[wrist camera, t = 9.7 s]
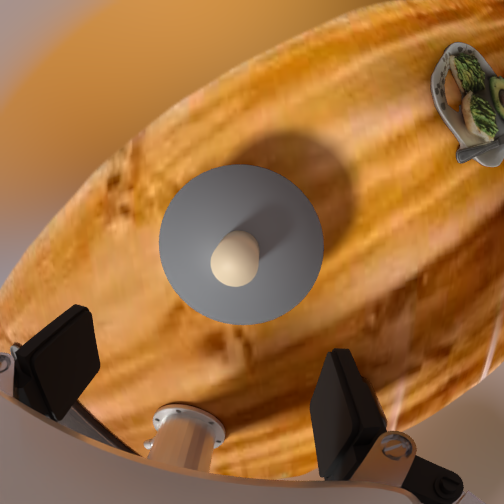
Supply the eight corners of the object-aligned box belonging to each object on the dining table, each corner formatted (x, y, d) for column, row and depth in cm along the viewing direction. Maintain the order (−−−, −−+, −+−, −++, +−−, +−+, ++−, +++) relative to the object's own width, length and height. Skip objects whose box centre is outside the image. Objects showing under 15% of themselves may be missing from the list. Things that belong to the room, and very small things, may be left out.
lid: (232, 345, 28) (226, 373, 24) (133, 237, 26) (109, 250, 21) (352, 259, 25) (369, 277, 21) (250, 130, 23) (246, 120, 18)
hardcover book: (110, 463, 49) (107, 469, 47) (44, 403, 44) (40, 409, 42) (147, 459, 46) (144, 467, 44) (71, 392, 41) (66, 399, 39)
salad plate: (479, 204, 28) (500, 209, 24) (400, 104, 26) (419, 95, 22) (520, 122, 24) (538, 121, 19) (454, 33, 22) (470, 23, 17)
